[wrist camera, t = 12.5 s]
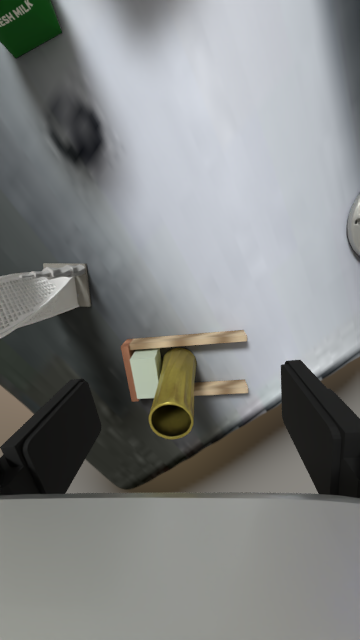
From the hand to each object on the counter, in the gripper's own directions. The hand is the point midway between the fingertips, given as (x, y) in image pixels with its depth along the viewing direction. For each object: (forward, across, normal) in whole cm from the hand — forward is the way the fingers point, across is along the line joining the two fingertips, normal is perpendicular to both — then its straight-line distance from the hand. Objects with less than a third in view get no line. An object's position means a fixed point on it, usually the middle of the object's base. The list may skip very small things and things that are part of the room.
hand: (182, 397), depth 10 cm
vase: (+26, +4, +12) cm, 28 cm away
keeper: (+25, +10, +11) cm, 29 cm away
